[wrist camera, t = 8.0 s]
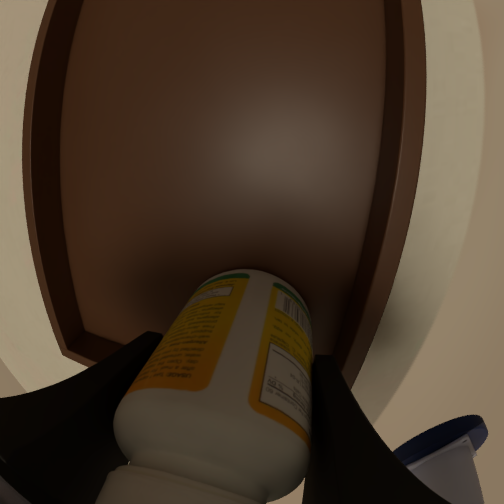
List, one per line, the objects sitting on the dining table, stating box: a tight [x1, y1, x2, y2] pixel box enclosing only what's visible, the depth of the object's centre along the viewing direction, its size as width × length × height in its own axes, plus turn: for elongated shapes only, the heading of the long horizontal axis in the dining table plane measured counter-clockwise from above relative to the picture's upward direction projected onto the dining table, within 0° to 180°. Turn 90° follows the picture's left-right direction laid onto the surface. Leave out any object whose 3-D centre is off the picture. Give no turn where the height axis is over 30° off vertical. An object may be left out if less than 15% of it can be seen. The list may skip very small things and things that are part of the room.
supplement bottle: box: [95, 269, 313, 504], centre depth 8 cm, size 5×5×10 cm
